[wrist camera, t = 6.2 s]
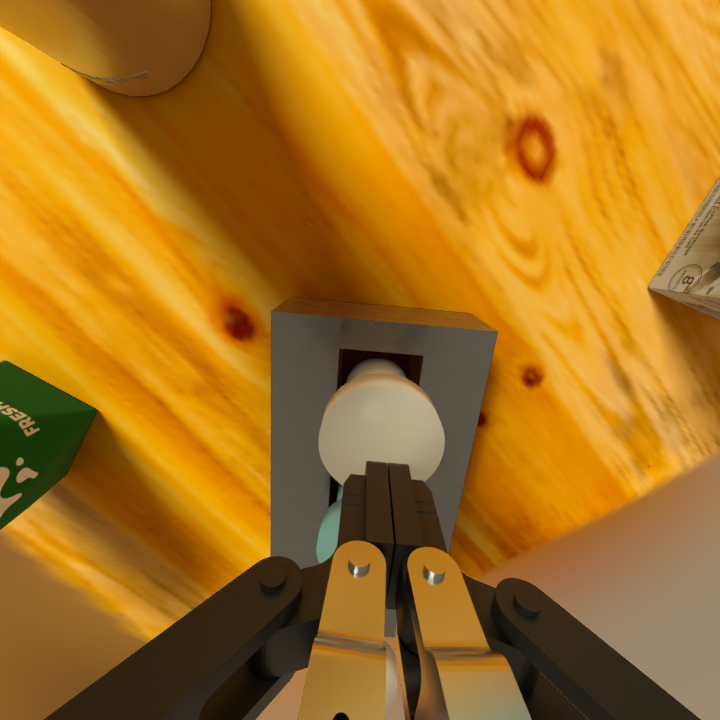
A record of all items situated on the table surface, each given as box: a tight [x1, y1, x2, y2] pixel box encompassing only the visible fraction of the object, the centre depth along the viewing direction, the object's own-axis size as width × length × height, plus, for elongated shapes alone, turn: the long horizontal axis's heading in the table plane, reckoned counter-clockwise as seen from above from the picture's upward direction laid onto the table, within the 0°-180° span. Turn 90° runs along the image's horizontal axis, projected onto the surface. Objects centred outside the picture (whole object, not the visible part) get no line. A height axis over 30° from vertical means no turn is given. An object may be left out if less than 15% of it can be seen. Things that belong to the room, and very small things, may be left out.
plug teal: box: [316, 483, 343, 564], centre depth 21 cm, size 5×5×6 cm
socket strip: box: [271, 297, 498, 637], centre depth 24 cm, size 24×12×5 cm, turn 175°
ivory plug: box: [318, 358, 445, 485], centre depth 17 cm, size 5×5×6 cm
